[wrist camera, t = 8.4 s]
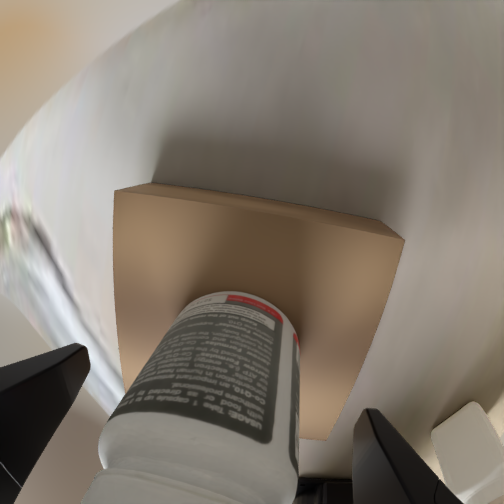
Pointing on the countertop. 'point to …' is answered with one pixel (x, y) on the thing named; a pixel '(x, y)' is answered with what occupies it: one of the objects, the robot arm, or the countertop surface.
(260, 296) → the brown square block
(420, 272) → the countertop surface
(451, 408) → the countertop surface
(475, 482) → the pepper shaker
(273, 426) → the pill bottle
